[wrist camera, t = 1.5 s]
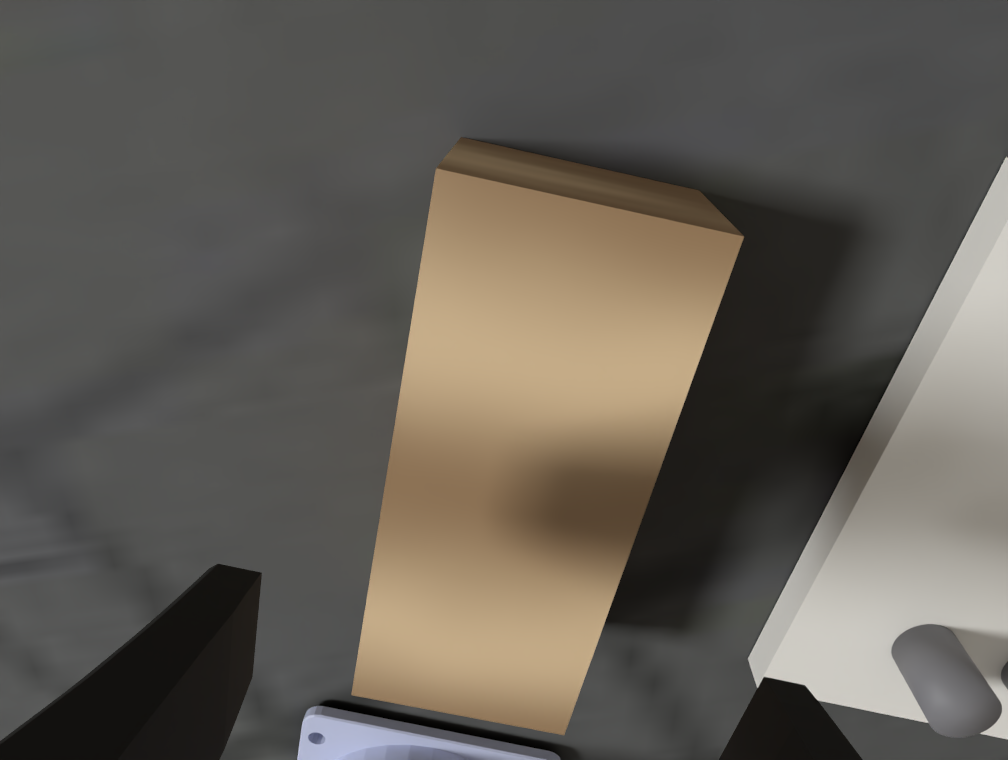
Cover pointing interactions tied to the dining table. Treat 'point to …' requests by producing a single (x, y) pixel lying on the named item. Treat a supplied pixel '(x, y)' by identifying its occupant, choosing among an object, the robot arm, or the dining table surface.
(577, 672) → the tan rectangular block
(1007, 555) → the peg stand
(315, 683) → the dining table surface
